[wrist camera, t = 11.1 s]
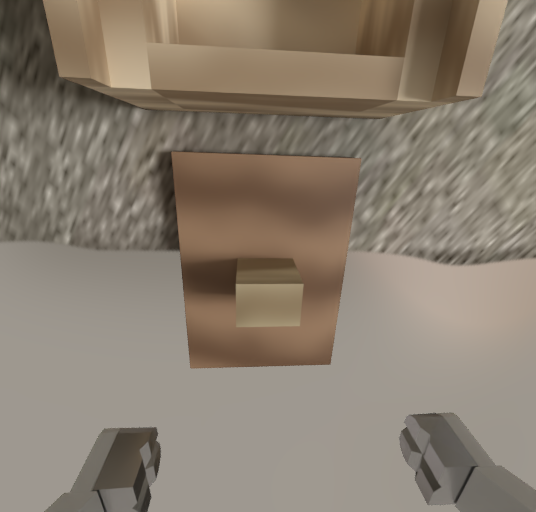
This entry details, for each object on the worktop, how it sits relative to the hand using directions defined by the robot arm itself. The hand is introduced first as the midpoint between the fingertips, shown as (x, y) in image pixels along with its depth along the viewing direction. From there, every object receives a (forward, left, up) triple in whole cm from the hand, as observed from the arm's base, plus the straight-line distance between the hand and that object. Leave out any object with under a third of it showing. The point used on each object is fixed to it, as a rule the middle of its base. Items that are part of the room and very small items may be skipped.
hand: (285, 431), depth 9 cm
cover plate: (0, 0, -14) cm, 14 cm away
